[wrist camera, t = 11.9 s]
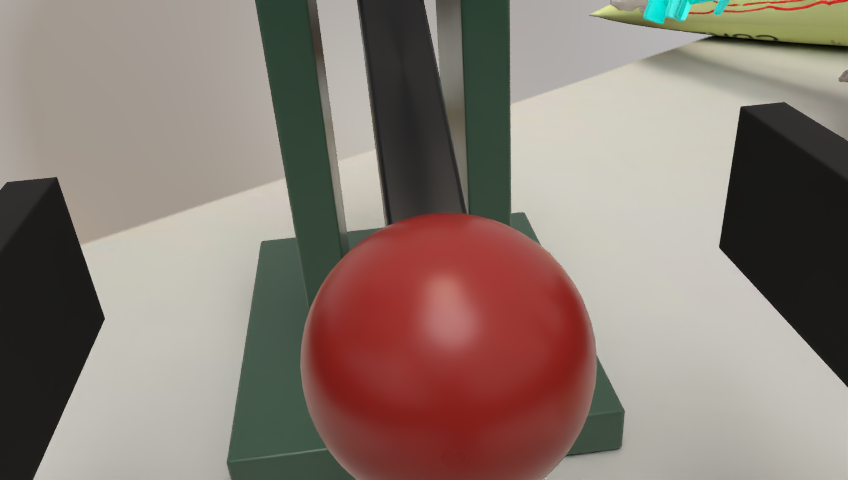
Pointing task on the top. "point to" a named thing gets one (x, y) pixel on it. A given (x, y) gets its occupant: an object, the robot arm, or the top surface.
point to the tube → (754, 21)
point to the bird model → (844, 77)
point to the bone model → (677, 3)
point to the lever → (440, 306)
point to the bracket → (329, 240)
